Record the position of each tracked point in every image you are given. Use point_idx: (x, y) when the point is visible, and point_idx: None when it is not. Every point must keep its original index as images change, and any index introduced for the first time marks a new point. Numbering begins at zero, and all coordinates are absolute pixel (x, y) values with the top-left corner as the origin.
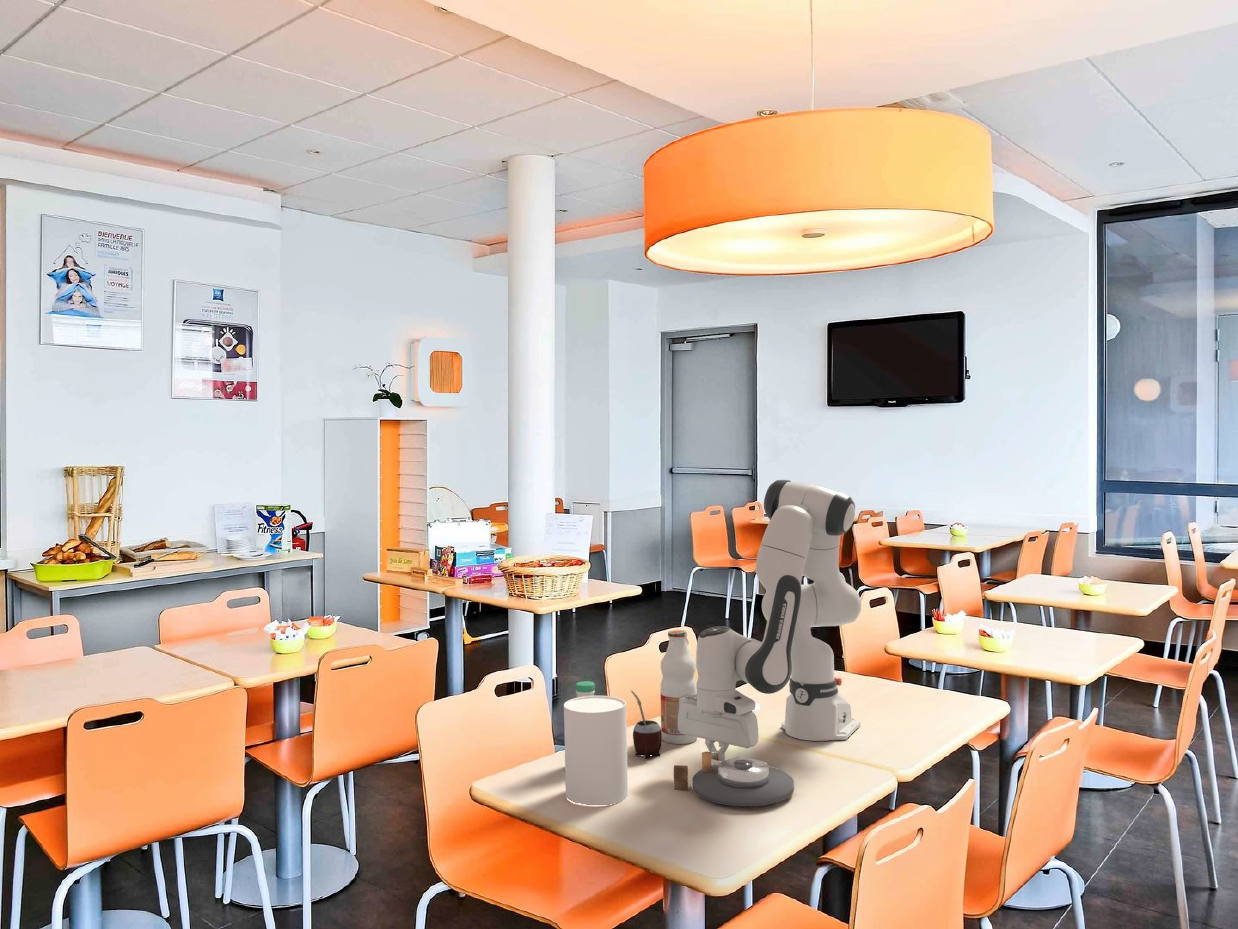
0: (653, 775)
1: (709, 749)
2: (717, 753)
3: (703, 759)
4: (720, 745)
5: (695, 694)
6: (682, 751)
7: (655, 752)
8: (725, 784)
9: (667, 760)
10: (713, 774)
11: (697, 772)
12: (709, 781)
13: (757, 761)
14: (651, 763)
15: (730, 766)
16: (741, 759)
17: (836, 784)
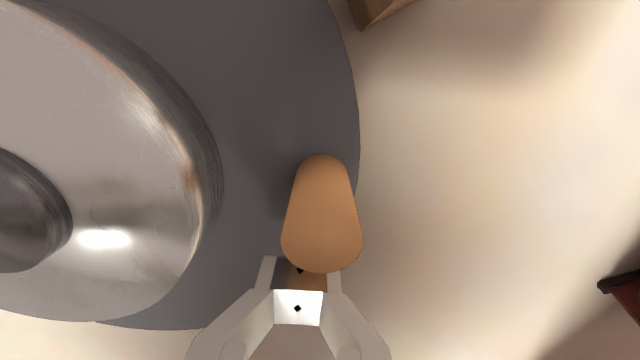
0: (596, 99)
1: (344, 307)
2: (278, 291)
3: (329, 188)
4: (223, 355)
5: None
6: (524, 338)
7: (634, 289)
8: (54, 7)
9: (560, 267)
10: (261, 151)
11: (355, 131)
12: (201, 24)
13: (39, 305)
14: (625, 217)
15: (48, 153)
16: (126, 292)
17: (7, 329)
